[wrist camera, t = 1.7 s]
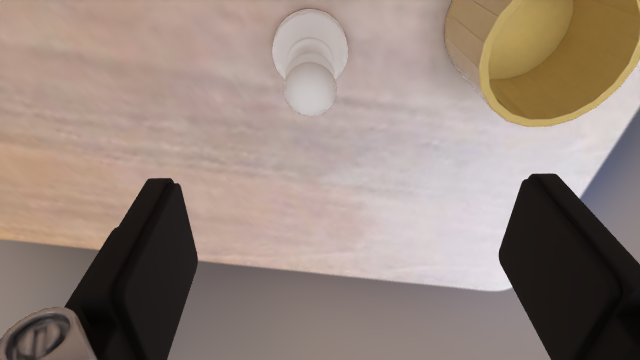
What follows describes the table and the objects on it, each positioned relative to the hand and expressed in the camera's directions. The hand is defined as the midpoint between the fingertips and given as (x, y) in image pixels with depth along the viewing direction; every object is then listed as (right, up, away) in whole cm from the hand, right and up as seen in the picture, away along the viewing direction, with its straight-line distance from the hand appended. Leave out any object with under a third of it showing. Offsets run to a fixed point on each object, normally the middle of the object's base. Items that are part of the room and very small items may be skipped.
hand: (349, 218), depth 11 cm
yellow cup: (+12, +12, +16) cm, 23 cm away
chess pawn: (-1, +10, +17) cm, 20 cm away
